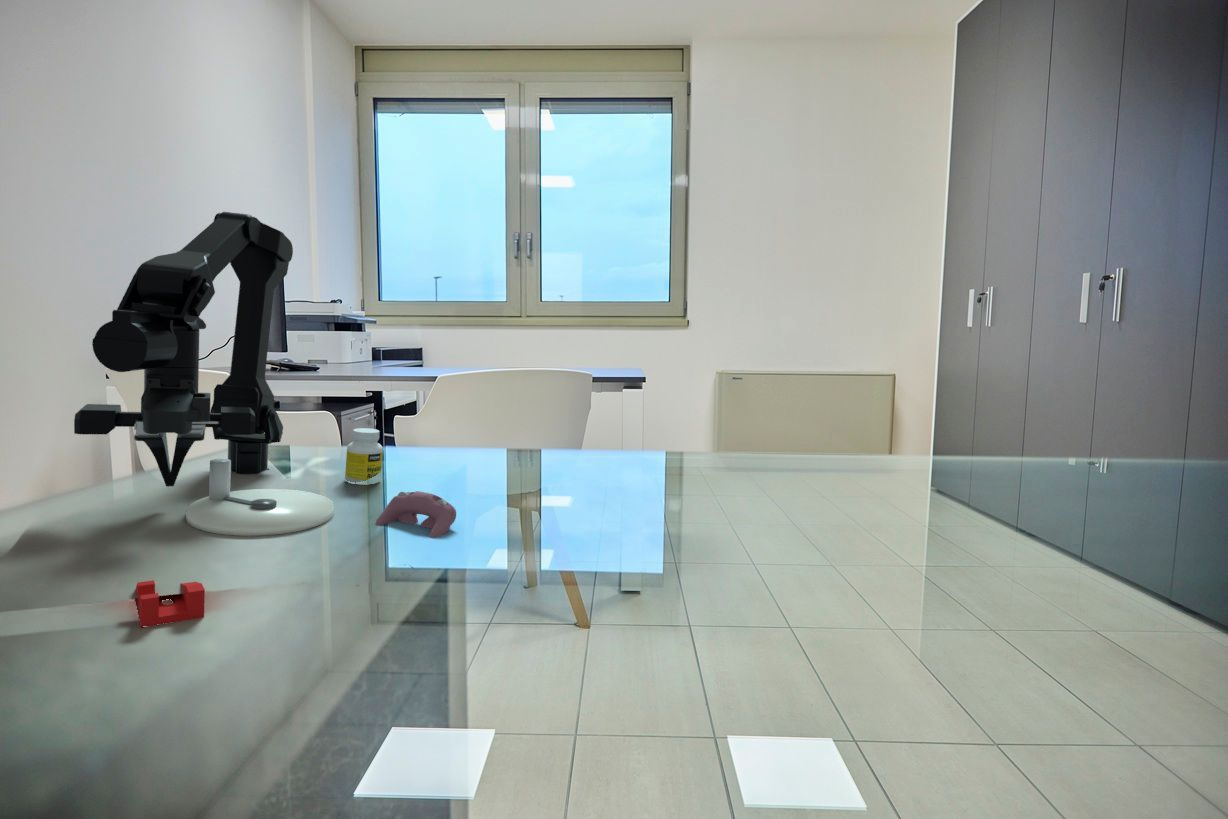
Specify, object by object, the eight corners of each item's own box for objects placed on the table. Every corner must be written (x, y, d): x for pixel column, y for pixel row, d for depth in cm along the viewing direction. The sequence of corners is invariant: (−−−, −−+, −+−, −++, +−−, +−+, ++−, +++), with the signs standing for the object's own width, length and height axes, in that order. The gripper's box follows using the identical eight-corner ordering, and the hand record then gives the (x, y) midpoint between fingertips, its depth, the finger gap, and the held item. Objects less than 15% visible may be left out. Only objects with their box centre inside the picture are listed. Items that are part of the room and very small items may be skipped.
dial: (188, 498, 91) (189, 455, 90) (324, 493, 99) (326, 453, 98) (183, 540, 76) (184, 489, 75) (342, 530, 85) (345, 484, 84)
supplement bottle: (368, 496, 105) (371, 435, 104) (337, 491, 106) (340, 430, 105) (386, 488, 110) (390, 430, 109) (357, 483, 111) (360, 425, 110)
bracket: (204, 620, 63) (204, 589, 62) (141, 631, 60) (141, 599, 59) (193, 594, 68) (194, 566, 67) (134, 603, 65) (135, 573, 64)
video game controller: (449, 553, 89) (465, 502, 91) (432, 547, 85) (450, 494, 87) (387, 538, 92) (403, 489, 94) (368, 532, 88) (386, 481, 90)
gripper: (64, 368, 73) (65, 508, 75) (259, 376, 82) (255, 500, 84) (82, 358, 82) (82, 482, 84) (255, 366, 92) (251, 477, 94)
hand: (170, 485), depth 86 cm, fingers closed
